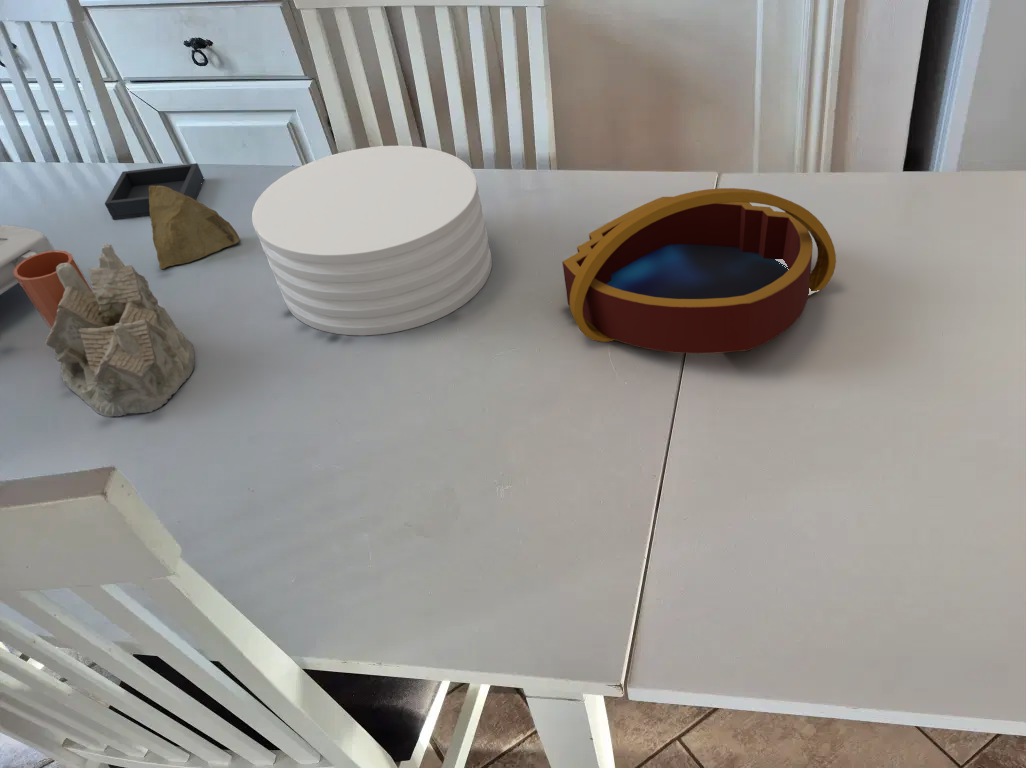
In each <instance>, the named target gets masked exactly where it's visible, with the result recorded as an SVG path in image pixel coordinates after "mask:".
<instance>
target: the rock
mask: <svg viewBox="0 0 1026 768" xmlns="http://www.w3.org/2000/svg"><path fill="white" fill-rule="evenodd" d="M149 204H150V222H151V224H150V225H151V231H152V242H153V246H154V248H155V251H156V258H157V260H158V265H159V266H158V267H159V268H160V269H161V270H165V269H166V268H169V267H171V266H177V265H184V264H188V263H192V262H193V261H197V260H199V259H202V258H204V257H207V256H208V255H211V254H213V253H216V252H219V251H221V250H222V249H224V248H228V247H231V246H233V245H236V244H238V243H240V241H241V240H240V236H239V235H238V232H237V231H236V229H234V227H233V226H232V225H231V223H230V222H229V221H227V220H225V219H224V218H223V217H222V216H221V215H220V214H219V213H218V212H217V211H216V210H214V209H212V208H210V207H208V206H206V205H205V204H204V203H202V202H200V201H198V200H197V199H196V200H195V199H193V198H191V197H189V196H185V195H183V194H181V193H179V192H177V191H174V190H172V189H171V188H168V187H165V186H151V185H150V186H149Z"/></svg>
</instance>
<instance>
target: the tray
mask: <svg viewBox="0 0 1026 768" xmlns="http://www.w3.org/2000/svg"><path fill="white" fill-rule="evenodd" d="M204 177H205V176H204V175H203V172H202V171H201V168H200V165H199V163H197V162H196V163H195V162H194V163H187V164H178V165H177V164H176V165H170V166H169V165H168V166H159V167H152V168H141V169H133V170H132V169H131V170H124V171H122V172H121V174H120V176H119V177H118V179H117V181H116V182H115V184H114V186H113V188H112V189H111V191H110V193H109V195H108V197H107V199H106V200H105V202H104V205H105V207H106V209H107V211H108V213H109V214H110V216H111V219H112V220H113V221H114V220H124V219H132V218H140V217H141V218H142V217H149V216H150V204H149V186H150V185H151V186H165V187H168V188H171V189H172V190H174V191H177V192H179V193H181V194H183V195H185V196H189V197H191V198H193V199H195V200H197V198H198V196H199V193H200V190H201V188H202V185H203V183H204V181H205V178H204ZM203 178H204V179H203ZM201 183H202V184H201Z"/></svg>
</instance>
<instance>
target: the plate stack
mask: <svg viewBox="0 0 1026 768" xmlns="http://www.w3.org/2000/svg"><path fill="white" fill-rule="evenodd" d="M475 174H476V173H475V172H474V171H473V169H472V168H471V167H470V165H468V164H467V163H466V162H465V161H464V160H462V159H461V158H459V157H457V156H455V155H452V154H450V153H448V152H445V151H441V150H439V149H434V148H429V147H423V146H415V145H382V146H381V145H379V146H371V147H364V148H363V147H362V148H356V149H351V150H346V151H343V152H338V153H335V154H330V155H327V156H324V157H321V158H317V159H316V160H312V161H310V162H308V163H305V164H303V165H301V166H299V167H297V168H294V169H293V170H291V171H289V172H287V173H286V174H284V175H283V176H281V177H279V178H278V179H277V180H275V181H274V182H272V184H270V185H269V186H268V187H266V188H265V190H264V191H263V192H262V193H261V194H260V195H259V197H258V198H257V200H256V201H255V204H254V205H253V208H252V213H251V221H252V225H253V228H254V231H255V233H256V235H257V237H258V239H259V242H260V245H261V247H262V250H263V253H264V254H265V256H266V259H267V262H268V264H269V267H270V270H271V271H272V273H273V275H274V278H275V281H276V284H277V287H278V289H279V291H280V292H281V296H282V298H283V300H284V303H285V305H286V308H287V309H288V311H289V312H290V313H291V315H293V316H294V318H296V319H297V320H299V321H300V322H301V323H304V324H305V325H307V326H308V327H311V328H313V329H316V330H319V331H322V332H326V333H329V334H337V335H344V336H379V335H386V334H394V333H398V332H402V331H403V332H404V331H407V330H411V329H415V328H418V327H421V326H424V325H427V324H429V323H430V324H431V323H432V322H436V321H437V320H439V319H441V318H444V317H446V316H448V315H450V314H452V313H453V312H455V311H457V310H458V309H460V308H461V307H463V306H464V305H465V304H467V303H468V302H469V301H470V300H472V299H473V298H474V297H475V296H476V295H477V294H478V293H479V292H480V291H481V290H482V289H483V287H484V286H485V284H486V283H487V281H488V279H489V277H490V274H491V271H492V266H493V259H492V253H491V248H490V245H489V238H488V233H487V229H486V222H485V217H484V214H483V213H484V212H483V207H482V201H481V197H480V193H479V186H478V185H479V184H478V180H477V177H476V175H475Z"/></svg>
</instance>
